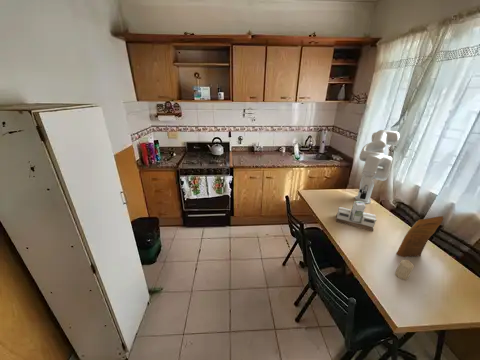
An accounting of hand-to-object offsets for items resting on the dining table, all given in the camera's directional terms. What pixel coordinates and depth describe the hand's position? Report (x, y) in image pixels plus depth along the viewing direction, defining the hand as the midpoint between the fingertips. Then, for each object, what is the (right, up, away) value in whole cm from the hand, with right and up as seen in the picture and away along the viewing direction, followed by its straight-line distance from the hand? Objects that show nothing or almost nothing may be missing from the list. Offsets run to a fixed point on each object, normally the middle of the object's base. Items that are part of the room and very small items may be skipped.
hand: (362, 195), depth 146 cm
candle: (+1, -40, -34) cm, 53 cm away
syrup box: (-1, -19, +8) cm, 20 cm away
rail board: (-1, -21, +9) cm, 23 cm away
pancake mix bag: (+17, -34, -20) cm, 43 cm away
